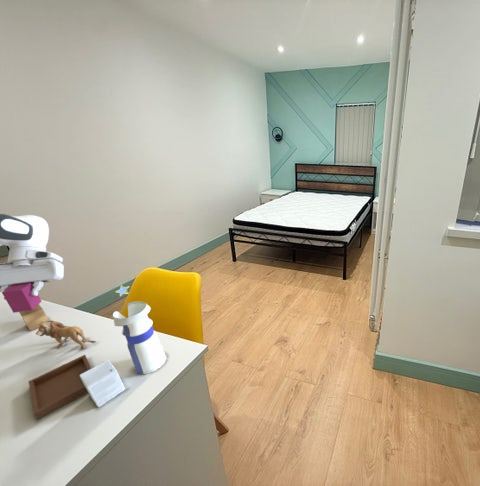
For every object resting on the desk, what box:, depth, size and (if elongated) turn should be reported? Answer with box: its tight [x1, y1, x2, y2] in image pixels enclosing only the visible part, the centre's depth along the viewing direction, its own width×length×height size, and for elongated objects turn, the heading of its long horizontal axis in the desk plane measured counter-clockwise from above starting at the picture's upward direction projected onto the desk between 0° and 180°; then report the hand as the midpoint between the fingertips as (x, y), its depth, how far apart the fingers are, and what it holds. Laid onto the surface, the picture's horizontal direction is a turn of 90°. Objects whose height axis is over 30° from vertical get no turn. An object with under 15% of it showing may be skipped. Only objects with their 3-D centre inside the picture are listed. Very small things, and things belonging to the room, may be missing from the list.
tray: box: [28, 354, 93, 420], centre depth 69 cm, size 14×12×2 cm
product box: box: [80, 359, 126, 408], centre depth 66 cm, size 6×6×7 cm
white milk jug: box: [112, 284, 167, 375], centre depth 71 cm, size 8×9×25 cm
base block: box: [18, 303, 50, 332], centre depth 91 cm, size 5×5×6 cm
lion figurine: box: [35, 320, 97, 350], centre depth 82 cm, size 15×5×9 cm, turn 92°
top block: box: [1, 282, 42, 314], centre depth 88 cm, size 5×5×8 cm
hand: (21, 297), depth 87 cm, fingers closed on top block, 5 cm apart
